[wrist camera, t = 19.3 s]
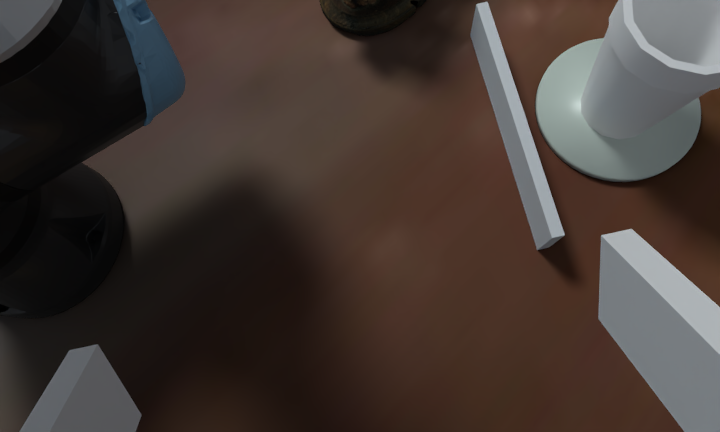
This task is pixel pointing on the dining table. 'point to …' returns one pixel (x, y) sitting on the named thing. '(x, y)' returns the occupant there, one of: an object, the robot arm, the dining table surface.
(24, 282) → the robot arm
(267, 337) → the dining table surface
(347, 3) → the owl figurine
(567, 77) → the resting disc
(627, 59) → the foam cup
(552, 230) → the acrylic wall
